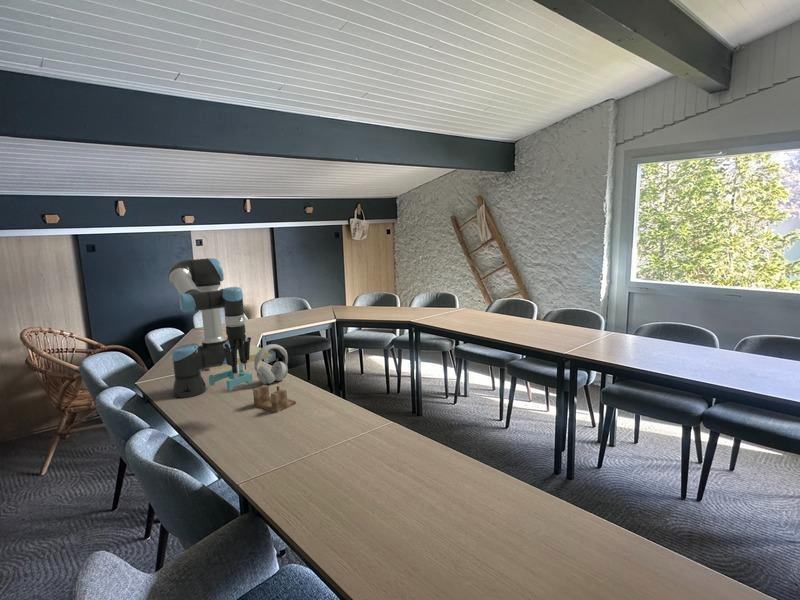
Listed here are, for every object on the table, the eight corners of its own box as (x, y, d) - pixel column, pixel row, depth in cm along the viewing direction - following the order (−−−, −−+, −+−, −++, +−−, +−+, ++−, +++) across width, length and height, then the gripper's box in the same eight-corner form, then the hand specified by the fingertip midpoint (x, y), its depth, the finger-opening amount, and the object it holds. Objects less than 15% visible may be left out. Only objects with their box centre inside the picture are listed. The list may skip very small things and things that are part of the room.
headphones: (262, 389, 230) (259, 350, 226) (251, 384, 237) (248, 346, 233) (294, 379, 243) (291, 342, 240) (283, 375, 250) (280, 339, 247)
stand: (277, 412, 201) (276, 394, 200) (254, 406, 209) (252, 389, 208) (295, 403, 210) (294, 386, 209) (272, 397, 218) (271, 381, 217)
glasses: (229, 390, 184) (228, 381, 184) (209, 385, 191) (208, 375, 190) (252, 381, 194) (252, 372, 193) (232, 376, 201) (231, 367, 200)
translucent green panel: (269, 358, 284) (254, 350, 302) (268, 351, 283) (253, 343, 302) (208, 372, 262) (196, 362, 280) (207, 364, 261) (195, 355, 279)
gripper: (225, 329, 184) (230, 386, 188) (256, 322, 196) (260, 375, 201) (213, 327, 188) (218, 383, 192) (244, 320, 200) (248, 372, 205)
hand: (239, 378), depth 196 cm, fingers closed on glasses, 2 cm apart
